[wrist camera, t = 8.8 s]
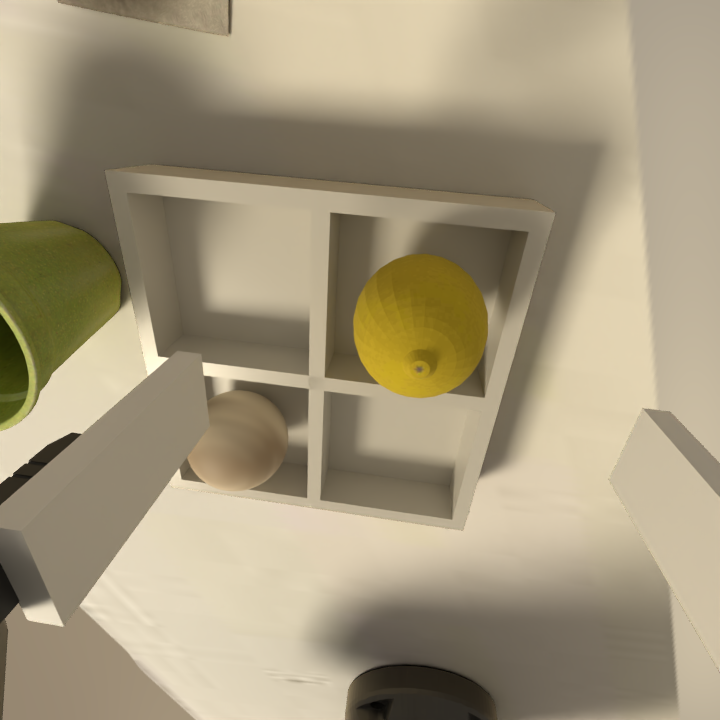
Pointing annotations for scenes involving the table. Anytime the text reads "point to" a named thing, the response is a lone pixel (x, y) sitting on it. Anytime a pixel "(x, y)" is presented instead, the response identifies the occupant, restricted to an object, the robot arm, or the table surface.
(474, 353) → the lemon
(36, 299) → the plant pot
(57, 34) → the table surface
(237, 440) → the beige rounded ball
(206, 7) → the condiment
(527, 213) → the tray
